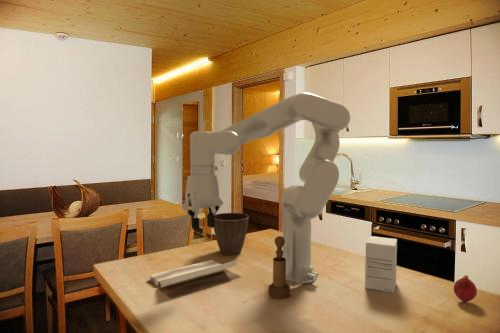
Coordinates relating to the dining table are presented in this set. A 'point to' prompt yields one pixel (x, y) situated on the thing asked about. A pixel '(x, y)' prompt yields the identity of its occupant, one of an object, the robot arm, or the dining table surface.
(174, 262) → the dining table surface
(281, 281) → the mortar and pestle
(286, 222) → the robot arm
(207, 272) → the pale plank
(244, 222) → the plant pot
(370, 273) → the supplement box
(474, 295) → the onion
